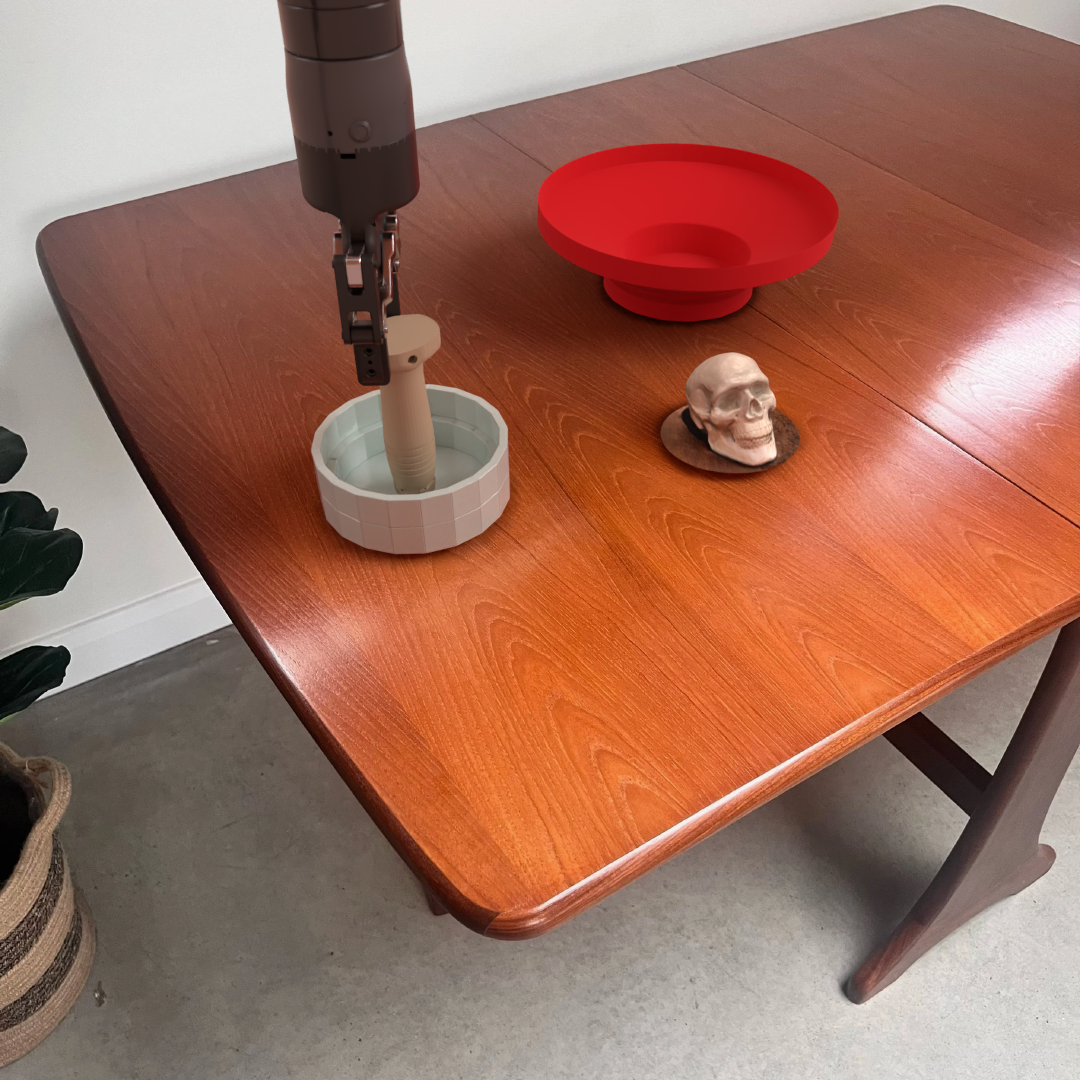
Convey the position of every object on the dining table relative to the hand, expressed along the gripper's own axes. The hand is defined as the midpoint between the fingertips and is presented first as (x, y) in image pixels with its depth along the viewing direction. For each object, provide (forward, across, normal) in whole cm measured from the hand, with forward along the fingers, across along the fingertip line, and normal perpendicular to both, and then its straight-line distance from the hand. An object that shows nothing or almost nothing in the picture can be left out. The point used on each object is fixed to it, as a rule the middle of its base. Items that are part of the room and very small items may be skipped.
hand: (380, 351), depth 75 cm
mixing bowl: (+15, -2, +1) cm, 15 cm away
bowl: (+15, -37, +27) cm, 48 cm away
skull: (+15, -9, +28) cm, 33 cm away
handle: (+15, -2, +1) cm, 15 cm away
